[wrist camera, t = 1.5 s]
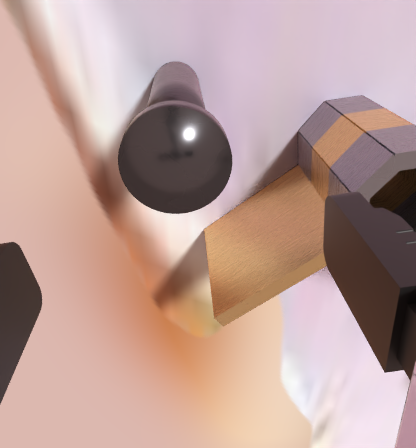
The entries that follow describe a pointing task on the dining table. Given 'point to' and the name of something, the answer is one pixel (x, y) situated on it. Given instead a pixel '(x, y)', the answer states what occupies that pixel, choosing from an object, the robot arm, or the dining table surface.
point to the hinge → (310, 203)
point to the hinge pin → (175, 146)
